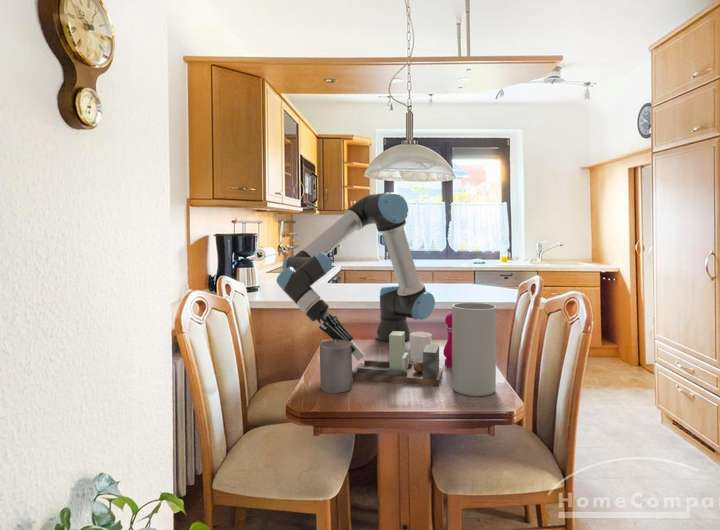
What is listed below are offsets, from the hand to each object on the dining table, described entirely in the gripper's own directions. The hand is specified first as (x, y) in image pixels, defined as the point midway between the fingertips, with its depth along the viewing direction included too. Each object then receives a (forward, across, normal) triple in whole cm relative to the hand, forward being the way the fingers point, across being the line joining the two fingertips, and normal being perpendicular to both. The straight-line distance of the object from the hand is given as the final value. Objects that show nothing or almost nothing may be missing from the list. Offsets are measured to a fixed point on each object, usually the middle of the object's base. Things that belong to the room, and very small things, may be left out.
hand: (361, 357), depth 151 cm
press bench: (+12, 0, +4) cm, 13 cm away
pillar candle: (+1, +14, -7) cm, 16 cm away
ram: (+11, 0, +6) cm, 13 cm away
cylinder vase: (+29, +7, +21) cm, 37 cm away
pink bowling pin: (+24, -17, +16) cm, 34 cm away
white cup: (+16, -19, +8) cm, 26 cm away
